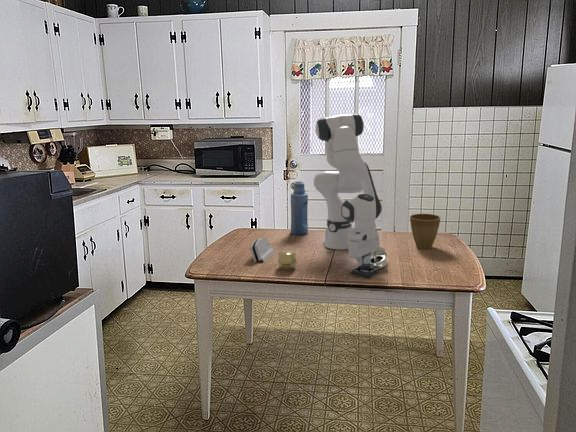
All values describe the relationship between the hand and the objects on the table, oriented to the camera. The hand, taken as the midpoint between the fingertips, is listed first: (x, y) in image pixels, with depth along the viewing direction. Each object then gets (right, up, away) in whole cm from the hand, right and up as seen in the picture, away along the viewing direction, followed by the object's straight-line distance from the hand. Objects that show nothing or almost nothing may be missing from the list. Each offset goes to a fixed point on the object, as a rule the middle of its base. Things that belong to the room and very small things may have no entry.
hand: (364, 263), depth 211 cm
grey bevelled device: (-46, 0, +27) cm, 53 cm away
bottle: (-27, +11, +68) cm, 73 cm away
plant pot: (+36, +4, +38) cm, 52 cm away
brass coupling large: (-34, -3, +10) cm, 35 cm away
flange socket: (0, -5, +1) cm, 5 cm away
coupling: (0, -2, +1) cm, 2 cm away
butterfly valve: (+8, -3, +11) cm, 14 cm away
